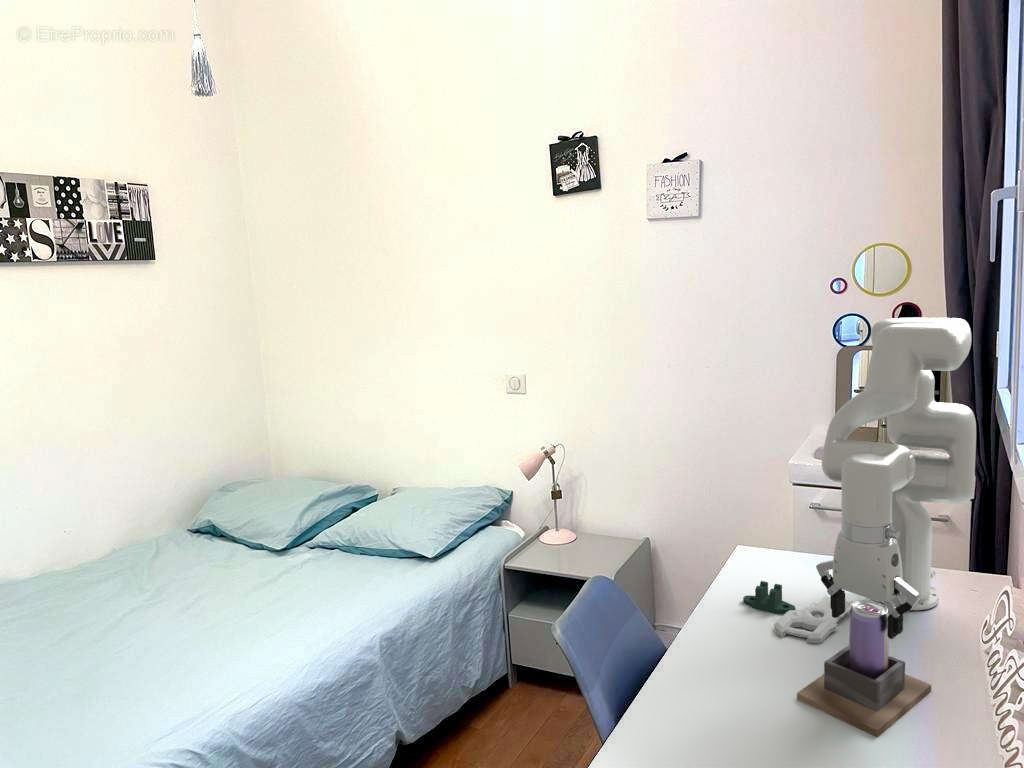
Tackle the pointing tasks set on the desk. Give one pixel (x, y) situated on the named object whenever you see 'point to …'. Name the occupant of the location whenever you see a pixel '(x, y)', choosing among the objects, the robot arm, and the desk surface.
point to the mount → (768, 599)
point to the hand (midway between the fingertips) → (865, 624)
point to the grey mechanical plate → (810, 621)
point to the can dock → (864, 693)
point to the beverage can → (868, 638)
